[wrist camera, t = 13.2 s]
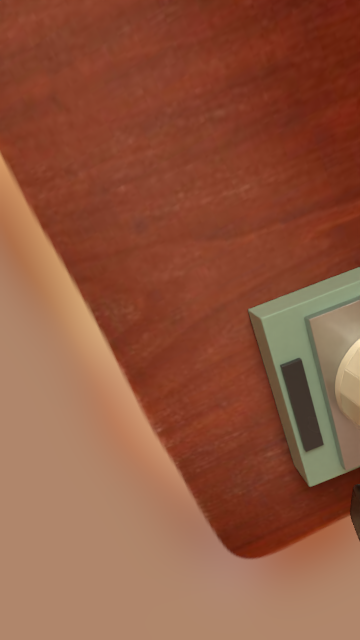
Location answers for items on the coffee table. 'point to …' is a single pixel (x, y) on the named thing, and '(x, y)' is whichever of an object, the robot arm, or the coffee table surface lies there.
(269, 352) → the scale
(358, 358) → the cup
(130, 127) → the coffee table surface
